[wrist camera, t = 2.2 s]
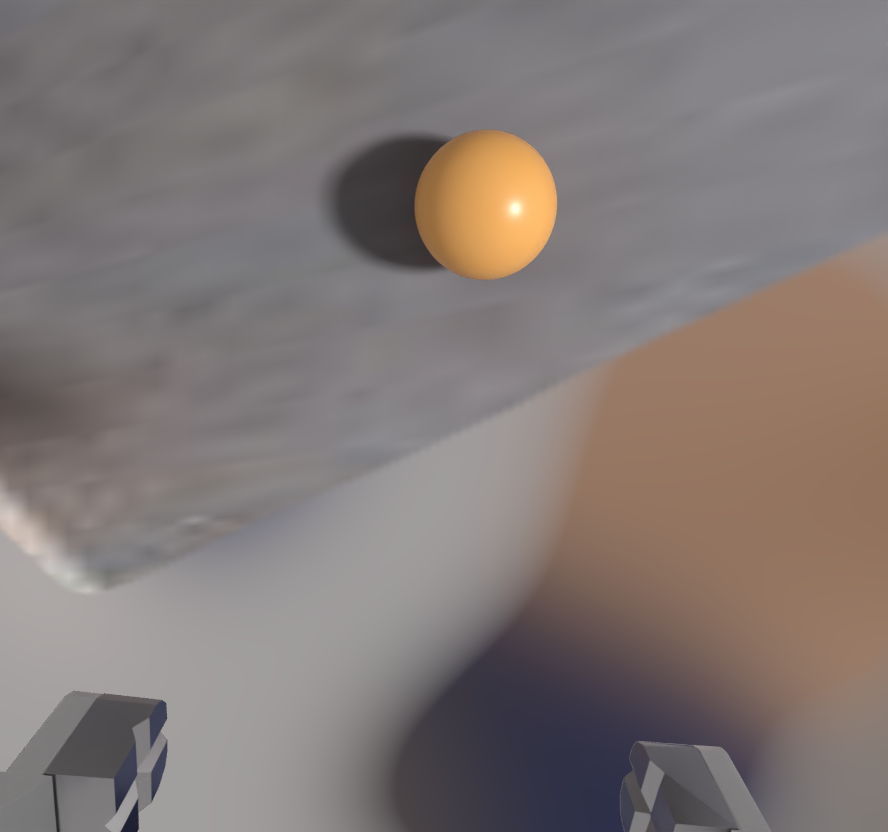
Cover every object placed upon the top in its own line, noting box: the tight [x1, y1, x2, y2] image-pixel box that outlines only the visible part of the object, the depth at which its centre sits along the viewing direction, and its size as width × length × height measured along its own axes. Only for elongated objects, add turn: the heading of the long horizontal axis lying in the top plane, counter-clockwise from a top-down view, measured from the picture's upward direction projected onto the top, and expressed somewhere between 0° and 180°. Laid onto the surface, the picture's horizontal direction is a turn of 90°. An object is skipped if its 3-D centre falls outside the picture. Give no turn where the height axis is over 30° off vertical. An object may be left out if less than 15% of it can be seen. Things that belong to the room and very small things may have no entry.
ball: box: [415, 130, 557, 280], centre depth 26 cm, size 6×6×6 cm
